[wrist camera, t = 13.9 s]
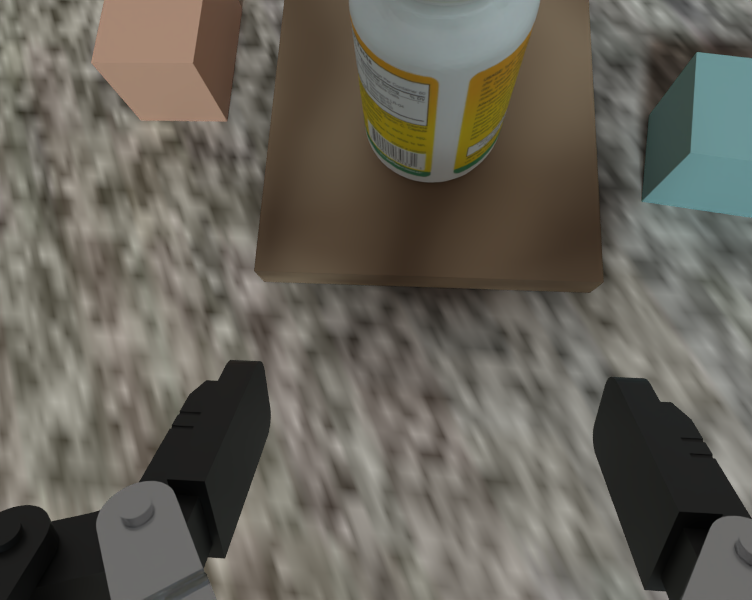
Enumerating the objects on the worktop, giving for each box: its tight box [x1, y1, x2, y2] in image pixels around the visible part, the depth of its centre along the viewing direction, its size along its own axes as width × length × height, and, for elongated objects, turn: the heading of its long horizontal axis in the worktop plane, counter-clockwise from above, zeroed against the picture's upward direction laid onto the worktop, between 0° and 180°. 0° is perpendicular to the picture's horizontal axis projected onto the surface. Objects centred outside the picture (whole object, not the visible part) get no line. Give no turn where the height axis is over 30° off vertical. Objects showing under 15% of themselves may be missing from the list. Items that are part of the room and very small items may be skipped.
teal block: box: [642, 52, 752, 218], centre depth 20 cm, size 6×4×4 cm, turn 79°
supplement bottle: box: [349, 0, 540, 182], centre depth 16 cm, size 5×5×10 cm
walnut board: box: [254, 0, 604, 293], centre depth 22 cm, size 13×13×2 cm
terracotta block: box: [91, 0, 242, 121], centre depth 23 cm, size 6×4×4 cm, turn 177°
